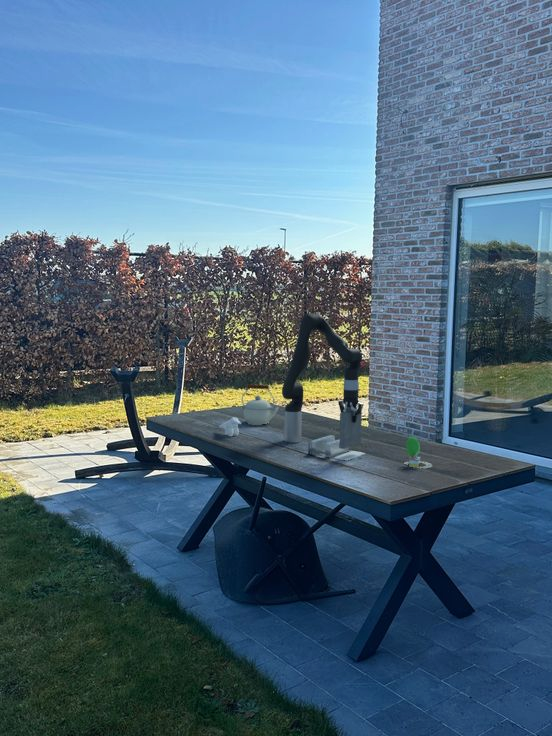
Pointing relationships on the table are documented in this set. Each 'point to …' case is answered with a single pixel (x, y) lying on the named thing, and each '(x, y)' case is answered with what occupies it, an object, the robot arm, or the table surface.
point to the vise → (326, 446)
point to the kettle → (258, 408)
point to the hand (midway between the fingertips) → (350, 421)
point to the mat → (349, 455)
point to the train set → (414, 453)
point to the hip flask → (349, 429)
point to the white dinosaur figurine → (231, 427)
